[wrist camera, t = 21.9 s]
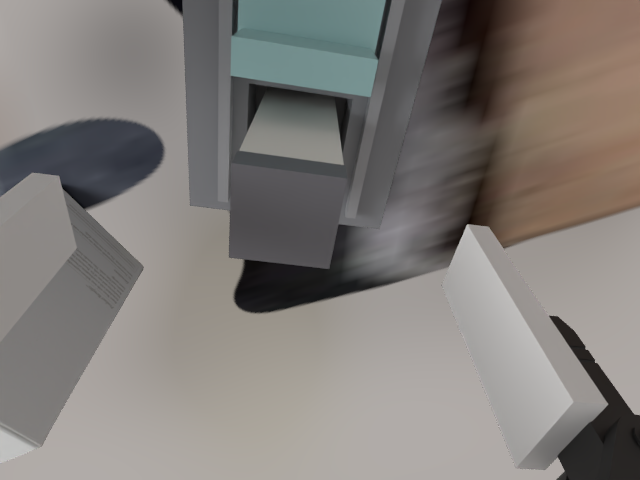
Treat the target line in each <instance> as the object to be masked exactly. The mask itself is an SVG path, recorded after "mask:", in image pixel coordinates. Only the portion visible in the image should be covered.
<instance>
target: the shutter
mask: <svg viewBox="0 0 640 480" xmlns="http://www.w3.org/2000/svg"><path fill="white" fill-rule="evenodd" d="M385 2H386V0H238V32H237V33H235V34H234V35H232V36H231V75H230V76H236V77H242V78H249V79H255V80H262V81H268V82H275V83H281V84H288V85H294V86H301V87H307V88H314V89H320V90H327V91H333V92H340V93H346V94H353V95H359V96H366V97H371V93H372V88H373V84H374V79H375V74H376V70H377V65H378V59H377V57H376V56H375V50H376V46H377V41H378V36H379V31H380V26H381V21H382V16H383V12H384V7H385Z"/></svg>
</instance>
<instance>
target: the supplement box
mask: <svg viewBox="0 0 640 480" xmlns="http://www.w3.org/2000/svg"><path fill="white" fill-rule="evenodd" d="M62 190H63V189H62ZM63 194H64V198H65V202H66V206H67V210H68V214H69V218H70V222H71V226H72V230H73V234H74V238H75V242H76V246H77V249H76V250H75V251H74V252H73V254H72V255H71V256H70V257H69V258H68V260H67V261H66V262H65V263H64V265H63V266H62V267H61V268H60V270H59V271H58V272H57V273H56V274H55V276H54V277H53V278H52V279H51V281H50V282H49V283H48V284H47V285H46V287H45V288H44V289H43V290H42V292H41V293H40V294H39V295H38V297H37V298H36V299H35V300H34V301H33V303H32V304H31V305H30V306H29V308H28V309H27V310H26V311H25V312H24V314H23V315H22V316H21V317H20V319H19V320H18V321H17V322H16V324H15V325H14V326H13V327H12V328H11V330H10V331H9V332H8V333H7V335H6V336H5V337H4V338H3V339H2V341H1V342H0V463H3V462H6V461H8V460H11V459H13V458H16V457H19V456H21V455H24V454H26V453H28V452H31V451H33V450H35V449H37V448H40V447H41V446H42V445H43V443H44V441H45V439H46V437H47V435H48V433H49V431H50V430H51V428H52V426H53V424H54V423H55V421H56V419H57V417H58V416H59V414H60V412H61V410H62V409H63V407H64V405H65V403H66V402H67V400H68V398H69V396H70V394H71V393H72V391H73V389H74V388H75V386H76V384H77V382H78V381H79V379H80V377H81V375H82V374H83V372H84V370H85V369H86V367H87V365H88V363H89V362H90V360H91V358H92V356H93V355H94V353H95V351H96V350H97V348H98V346H99V344H100V343H101V341H102V339H103V337H104V336H105V334H106V332H107V330H108V329H109V327H110V325H111V324H112V322H113V320H114V318H115V317H116V315H117V313H118V311H119V310H120V308H121V306H122V305H123V303H124V301H125V299H126V298H127V296H128V294H129V292H130V291H131V289H132V287H133V285H134V284H135V282H136V280H137V279H138V277H139V275H140V274H141V272H142V271H143V266H142V265H141V264H140V263H139V262H138V261H137V260H136V259H135V258H134V257H133V256H132V255H131V254H130V253H129V252H128V251H127V250H126V249H125V248H124V247H123V246H122V245H121V244H120V243H118V242H117V241H116V240H115V239H114V238H113V237H112V236H111V235H110V234H109V233H108V232H107V231H106V230H105V229H104V228H103V227H102V226H101V225H100V224H99V223H98V222H97V221H96V220H95V219H93V218H92V216H90V215H89V214H88V213H87V212H86V211H85V210H84V209H83V208H82V207H81V206H80V205H79V204H78V203H77V202H76V201H75V200H74V199H73V198H72V197H71V196H70V195H69V194H68V193H67V192H66V191H65V190H63Z"/></svg>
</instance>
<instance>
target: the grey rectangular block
mask: <svg viewBox="0 0 640 480" xmlns="http://www.w3.org/2000/svg"><path fill="white" fill-rule="evenodd" d="M347 179H348V178H347V172H346V165H344V162H343V155H342V148H341V141H340V133H339V126H338V119H337V111H336V104H335V97H334V96H329V95H323V94H316V93H309V92H303V91H296V90H290V89H283V88H277V87H270V86H268V88H267V90H266V92H265V94H264V96H263V99H262V101H261V103H260V105H259V108H258V110H257V112H256V114H255V116H254V119H253V121H252V123H251V125H250V128H249V130H248V132H247V134H246V136H245V139H244V141H243V143H242V145H241V148H240V150H239V151H238V150H237V152H236V154H235V156H234V159H233V161H232V163H231V198H230V236H229V257H230V258H238V259H247V260H255V261H264V262H273V263H282V264H290V265H299V266H308V267H316V268H325V269H329V267H330V262H331V258H332V253H333V248H334V243H335V238H336V233H337V228H338V223H339V218H340V213H341V208H342V203H343V199H344V194H345V189H346V184H347Z"/></svg>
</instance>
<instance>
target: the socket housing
mask: <svg viewBox="0 0 640 480" xmlns="http://www.w3.org/2000/svg"><path fill="white" fill-rule="evenodd" d="M182 1H183V25H184V26H183V28H184V53H185V54H184V55H185V82H186V109H187V133H188V135H187V136H188V162H189V190H190V206H199V207H207V208H214V209H223V210H230V198H231V163H232V161H233V159H234V156H235V154H236V152H237V150H238V151H239V150H240V148H241V145H242V143H243V141H244V139H245V136H246V134H247V132H248V130H249V128H250V125H251V123H252V121H253V119H254V116H255V114H256V112H257V110H258V108H259V105H260V103H261V101H262V99H263V96H264V94H265V92H266V90H267V88H268V86H270V87H277V88H283V89H290V90H296V91H303V92H309V93H316V94H323V95H329V96H334V97H335V104H336V111H337V119H338V126H339V133H340V141H341V148H342V155H343V162H344V165H346V172H347V178H348V179H347V184H346V189H345V194H344V199H343V203H342V208H341V213H340V218H339V223H338V224H342V225H350V226H358V227H366V228H374V229H380V225H381V222H382V218H383V214H384V211H385V207H386V203H387V200H388V196H389V192H390V189H391V185H392V181H393V178H394V174H395V170H396V167H397V163H398V159H399V156H400V152H401V148H402V145H403V141H404V137H405V134H406V130H407V126H408V123H409V119H410V115H411V112H412V108H413V104H414V101H415V97H416V93H417V90H418V86H419V82H420V79H421V75H422V71H423V68H424V64H425V60H426V57H427V53H428V49H429V46H430V42H431V38H432V35H433V31H434V27H435V24H436V20H437V16H438V13H439V9H440V5H441V2H442V0H386V2H385V7H384V12H383V16H382V21H381V26H380V31H379V36H378V41H377V46H376V50H375V56H376V57H377V59H378V65H377V70H376V74H375V79H374V84H373V88H372V93H371V97H366V96H359V95H353V94H346V93H340V92H333V91H327V90H320V89H314V88H307V87H301V86H294V85H288V84H281V83H275V82H268V81H262V80H255V79H249V78H242V77H236V76H230V75H231V36H232V35H234V34H235V33H237V32H238V0H182Z"/></svg>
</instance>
